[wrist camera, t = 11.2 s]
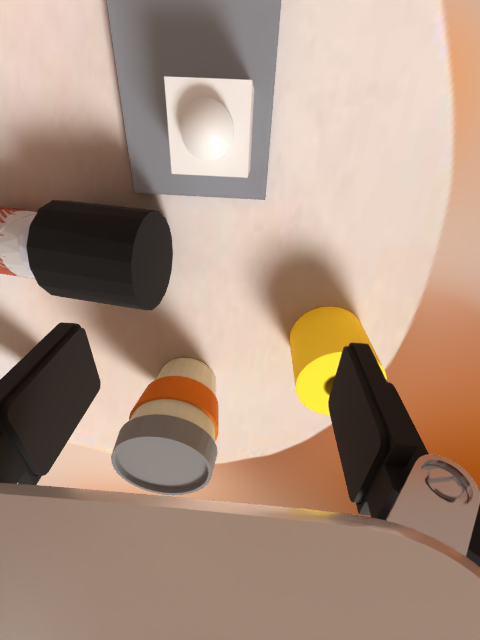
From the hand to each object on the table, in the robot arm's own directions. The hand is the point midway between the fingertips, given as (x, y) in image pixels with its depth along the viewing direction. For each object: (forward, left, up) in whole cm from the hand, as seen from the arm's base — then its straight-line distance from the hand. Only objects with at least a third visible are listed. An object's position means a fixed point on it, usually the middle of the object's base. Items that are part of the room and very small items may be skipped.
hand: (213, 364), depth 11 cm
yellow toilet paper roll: (+17, +12, -27) cm, 34 cm away
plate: (-11, -5, -26) cm, 29 cm away
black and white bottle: (+4, -26, -27) cm, 37 cm away
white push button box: (-7, -3, -25) cm, 26 cm away
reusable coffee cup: (+27, -8, -26) cm, 39 cm away
